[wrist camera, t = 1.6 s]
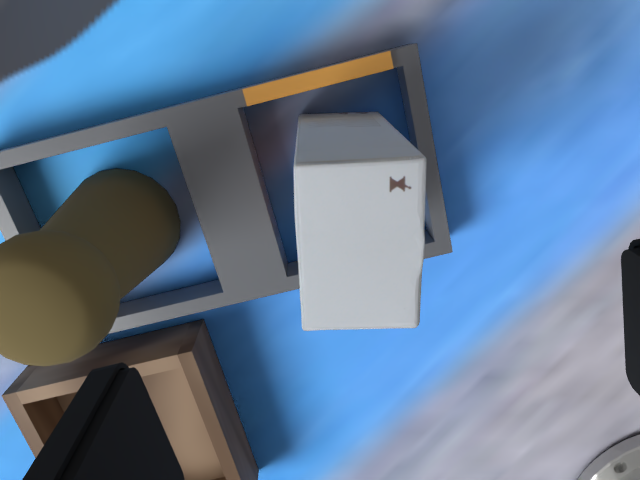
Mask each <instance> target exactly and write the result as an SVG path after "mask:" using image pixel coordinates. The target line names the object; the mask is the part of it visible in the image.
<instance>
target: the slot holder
mask: <svg viewBox="0 0 640 480" xmlns="http://www.w3.org/2000/svg"><path fill="white" fill-rule="evenodd" d="M396 67H397V73H398V78H399V84H400V89H401V94H402V100H403V105H404V110H405V116H406V121H407V127H408V132H409V137H410V143H411V144H412V145H413V146H414V147H415V148H416V149H417V150H419V151H420V152H421V153H422V154H423V155H424V156H425V157H426V197H425V223H426V229H427V230H424V235H425V249H424V259H426V258H430V257H434V256H438V255H443V254H447V253H451V252H452V246H451V240H450V234H449V228H448V222H447V217H446V211H445V205H444V199H443V193H442V187H441V181H440V176H439V170H438V164H437V158H436V152H435V146H434V140H433V135H432V129H431V123H430V117H429V111H428V105H427V99H426V94H425V88H424V82H423V76H422V70H421V64H420V58H419V53H418V47H417V44H407V45H403V46H399V47H395V48H391V49H388V50H384V51H380V52H376V53H372V54H368V55H364V56H361V57H357V58H353V59H349V60H345V61H341V62H338V63H334V64H330V65H326V66H322V67H318V68H314V69H311V70H307V71H303V72H299V73H295V74H291V75H288V76H284V77H280V78H276V79H272V80H268V81H264V82H261V83H257V84H253V85H249V86H245V87H241V88H237V89H234V90H230V91H226V92H222V93H218V94H214V95H211V96H207V97H203V98H199V99H195V100H191V101H187V102H184V103H180V104H176V105H172V106H168V107H164V108H161V109H157V110H153V111H149V112H145V113H141V114H137V115H134V116H130V117H126V118H122V119H118V120H114V121H111V122H107V123H103V124H99V125H95V126H91V127H87V128H84V129H80V130H76V131H72V132H68V133H64V134H61V135H57V136H53V137H49V138H45V139H41V140H37V141H34V142H30V143H26V144H22V145H18V146H14V147H10V148H7V149H3V150H0V230H1V232H2V234H3V236H4V239H5V241H6V240H8V239H10V238H12V237H13V236H15V235H18V234H23V233H29V232H34V231H39V230H40V229H41V228H40V226H39V224H38V222H37V219H36V217H35V215H34V213H33V211H32V208H31V206H30V204H29V202H28V200H27V197H26V195H25V193H24V191H23V189H22V186H21V184H20V182H19V180H18V178H17V175H16V173H15V171H14V169H13V167H12V166H16V165H20V164H24V163H28V162H32V161H35V160H39V159H43V158H47V157H51V156H55V155H59V154H63V153H67V152H70V151H74V150H78V149H82V148H86V147H90V146H94V145H98V144H101V143H105V142H109V141H113V140H117V139H121V138H125V137H129V136H132V135H136V134H140V133H144V132H148V131H152V130H156V129H160V128H163V127H167V129H168V131H169V134H170V137H171V140H172V143H173V146H174V149H175V152H176V155H177V158H178V161H179V164H180V167H181V169H182V172H183V175H184V178H185V181H186V184H187V187H188V190H189V193H190V196H191V199H192V202H193V204H194V207H195V210H196V213H197V216H198V219H199V222H200V225H201V228H202V231H203V234H204V237H205V240H206V242H207V245H208V248H209V251H210V254H211V257H212V260H213V263H214V266H215V269H216V272H217V275H218V278H219V280H215V281H211V282H207V283H202V284H198V285H194V286H190V287H186V288H182V289H177V290H173V291H169V292H165V293H161V294H157V295H153V296H148V297H144V298H140V299H136V300H132V301H128V302H123V303H120V306H119V312H118V314H117V317H116V319H115V322H114V324H113V327H112V328H111V330H110V332H109V333H108V334H110V333H114V332H118V331H122V330H127V329H131V328H135V327H139V326H143V325H148V324H152V323H156V322H160V321H165V320H169V319H173V318H177V317H181V316H186V315H190V314H194V313H198V312H202V311H207V310H211V309H215V308H219V307H224V306H228V305H232V304H236V303H240V302H245V301H249V300H253V299H257V298H261V297H266V296H270V295H274V294H278V293H283V292H287V291H291V290H295V289H299V288H300V285H299V269H298V261H294V262H290V263H288V261H287V258H286V254H285V251H284V247H283V244H282V240H281V237H280V234H279V230H278V227H277V223H276V220H275V216H274V213H273V209H272V206H271V202H270V199H269V196H268V192H267V189H266V185H265V182H264V178H263V175H262V171H261V168H260V164H259V161H258V157H257V154H256V151H255V147H254V144H253V140H252V137H251V133H250V130H249V126H248V123H247V119H246V116H245V113H244V109H243V107H245V106H251V105H255V104H258V103H262V102H266V101H270V100H274V99H278V98H282V97H286V96H289V95H293V94H297V93H301V92H305V91H309V90H313V89H317V88H320V87H324V86H328V85H332V84H336V83H340V82H344V81H348V80H352V79H355V78H359V77H363V76H367V75H371V74H375V73H379V72H383V71H386V70H390V69H394V68H396Z"/></svg>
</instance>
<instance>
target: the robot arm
mask: <svg viewBox="0 0 640 480" xmlns="http://www.w3.org/2000/svg"><path fill="white" fill-rule="evenodd" d="M621 268H622V292H623V315H624V339H625V363H626V374H627V377H628V380H629V382H630V384H631V386H632V388H633V389H634V390H635V391H636V392H637V393H638V394H639V395H640V239H637V240H633V241H632V242H631V243H630V245H629V249H628V250H625V251H624V252H623V253H622V256H621ZM23 480H185V479H184V474H183V471H182V469H181V466H180V464H179V462H178V460H177V457H176V455H175V453H174V450H173V448H172V446H171V444H170V441H169V439H168V437H167V435H166V432H165V430H164V428H163V425H162V423H161V421H160V419H159V416H158V414H157V412H156V409H155V407H154V405H153V403H152V400H151V398H150V396H149V393H148V391H147V389H146V387H145V384H144V382H143V380H142V378H141V375H140V373H139V371H138V370H137V369H136V368H134V367H132V368H129V367H128V366H127V365H126V364H125V363H123V362H121V363H117V364H113V365H108V366H104V367H100V368H96V369H92V370H91V371H90V373H89V374H88V376H87V377H86V379H85V380H84V382H83V384H82V385H81V387H80V388H79V390H78V392H77V393H76V395H75V396H74V398H73V400H72V401H71V403H70V404H69V406H68V408H67V409H66V411H65V412H64V414H63V416H62V417H61V419H60V420H59V422H58V424H57V425H56V427H55V428H54V430H53V432H52V433H51V435H50V436H49V438H48V440H47V441H46V443H45V444H44V446H43V448H42V449H41V451H40V452H39V454H38V456H37V457H36V459H35V460H34V462H33V464H32V465H31V467H30V468H29V470H28V472H27V473H26V475H25V476H24V478H23ZM578 480H640V434H639V435H637V436H634V437H631V438H628V439H626V440H624V441H622V442H620V443H619V444H617V445H615V446H613V447H611V448H609V449H608V450H607V451H605V452H604V453H603V454H601V455H600V456H599V457H597V458H596V459H595V460H594V461H593V462H592V463H591V464H590V465H589V466H588V467H587V468H586V469H585V470H584V471H583V472H582V474H581V475H580V477H579V478H578Z"/></svg>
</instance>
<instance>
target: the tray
mask: <svg viewBox="0 0 640 480" xmlns="http://www.w3.org/2000/svg"><path fill="white" fill-rule="evenodd" d="M121 362H123V363H125V364H126V365H127V366H128V367H129V368H132V367H134V368H136V369H137V370H138V371H139V373H140V375H141V378H142V380H143V382H144V384H145V387H146V389H147V391H148V393H149V396H150V398H151V400H152V403H153V405H154V407H155V409H156V412H157V414H158V416H159V419H160V421H161V423H162V425H163V428H164V430H165V432H166V435H167V437H168V439H169V441H170V444H171V446H172V448H173V450H174V453H175V455H176V457H177V460H178V462H179V464H180V466H181V469H182V471H183V474H184V479H185V480H258V472H259V470H258V467H257V465H256V462H255V459H254V456H253V454H252V451H251V448H250V445H249V443H248V440H247V437H246V434H245V432H244V429H243V426H242V423H241V421H240V418H239V415H238V412H237V410H236V407H235V404H234V401H233V399H232V396H231V393H230V390H229V388H228V385H227V382H226V379H225V377H224V374H223V371H222V368H221V366H220V363H219V360H218V357H217V355H216V352H215V349H214V346H213V344H212V341H211V338H210V335H209V333H208V330H207V327H206V324H205V322H204V319H202V320H198V321H194V322H190V323H186V324H181V325H177V326H173V327H169V328H164V329H160V330H156V331H152V332H147V333H143V334H139V335H135V336H131V337H126V338H122V339H118V340H114V341H109V342H105V343H101V344H98V345H97V347H96V348H95V349H93V350H92V351H90V352H89V353H87V354H85V355H83V356H81V357H80V358H78V359H76V360H74V361H72V362H69V363H63V364H58V365H52V366H34V365H28V366H27V367H26V368H25V370H24V371H23V372H22V373H21V374H20V375H19V376H18V378H17V379H16V380H15V381H14V382H13V383H12V384H11V386H10V387H9V388H8V389H7V390H6V391H5V392H4V394H3V395H2V397H3V399H4V401H5V403H6V404H7V406H8V408H9V410H10V412H11V414H12V416H13V417H14V419H15V421H16V423H17V425H18V427H19V428H20V430H21V432H22V434H23V436H24V438H25V439H26V441H27V443H28V445H29V447H30V449H31V450H32V452H33V454H34V456H35V458H36V457H37V456H38V454H39V452H40V451H41V449H42V448H43V446H44V444H45V443H46V441H47V440H48V438H49V436H50V435H51V433H52V432H53V430H54V428H55V427H56V425H57V424H58V422H59V420H60V419H61V417H62V416H63V414H64V412H65V411H66V409H67V408H68V406H69V404H70V403H71V401H72V400H73V398H74V396H75V395H76V393H77V392H78V390H79V388H80V387H81V385H82V384H83V382H84V380H85V379H86V377H87V376H88V374H89V373H90V371H91V370H92V369H96V368H100V367H104V366H108V365H113V364H117V363H121Z"/></svg>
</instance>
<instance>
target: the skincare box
mask: <svg viewBox="0 0 640 480" xmlns="http://www.w3.org/2000/svg"><path fill="white" fill-rule="evenodd" d="M425 197H426V157H425V156H424V155H423V154H422V153H421V152H420V151H419V150H417V149H416V148H415V147H414V146H413V145H412V144H411V143H410V142H409V141H408V140H407V139H406V138H405V137H404V136H403V135H402V134H401V133H400V132H399V131H398V130H396V129H395V128H394V127H393V126H392V125H391V124H390V123H389V122H388V121H387V120H386V119H385V118H384V117H383V116H382V115H381V114H380V113H379V112H344V113H324V114H300V115H299V118H298V129H297V138H296V148H295V157H294V212H295V229H296V242H297V255H298V269H299V285H300V301H301V317H302V329H303V330H304V331H312V330H340V329H384V328H416V327H417V326H418V325H419V322H420V298H421V278H422V265H423V259H424V249H425V235H424V226H425Z"/></svg>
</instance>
